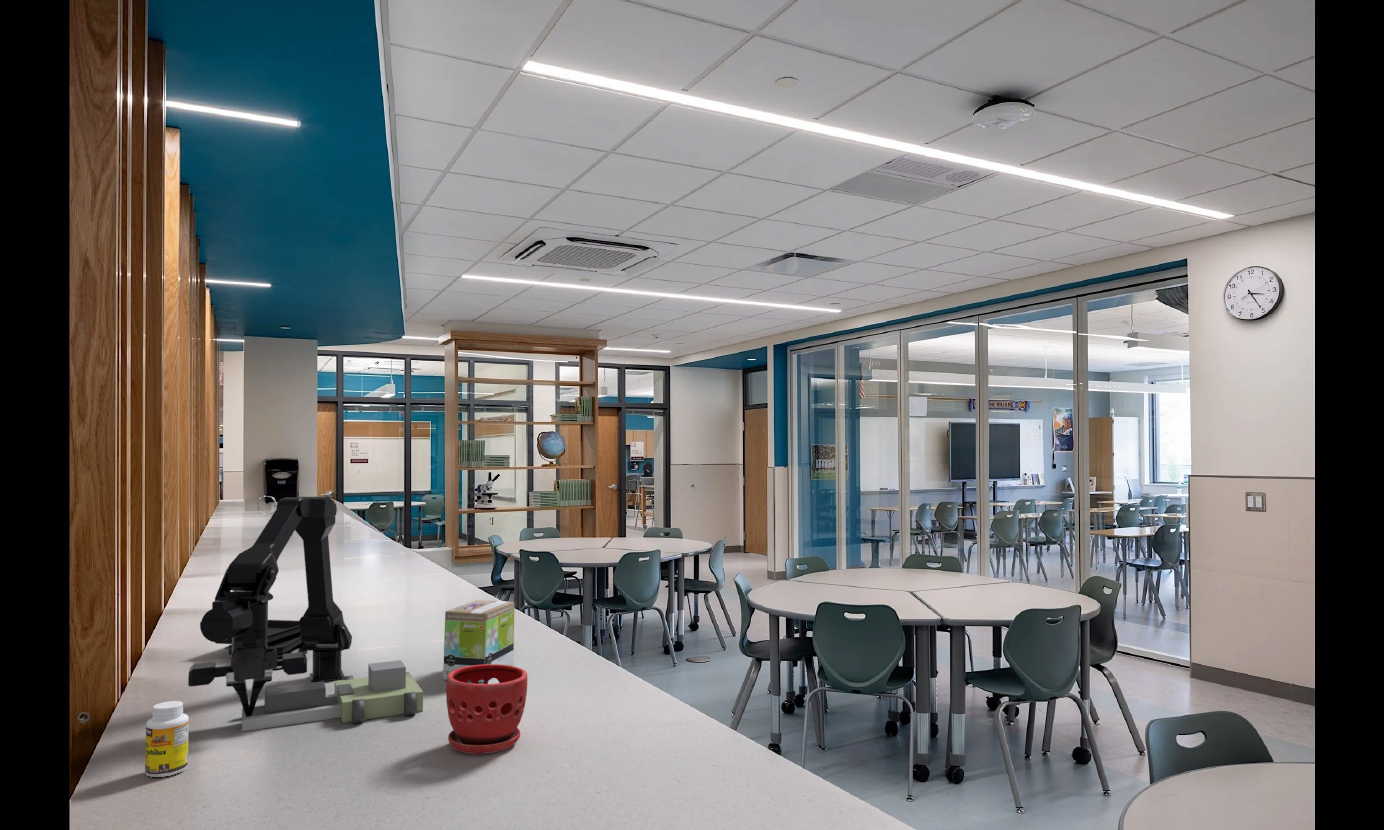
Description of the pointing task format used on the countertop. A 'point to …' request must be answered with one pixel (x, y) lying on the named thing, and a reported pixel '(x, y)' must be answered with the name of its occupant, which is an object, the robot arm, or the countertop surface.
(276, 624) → the tray
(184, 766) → the supplement bottle
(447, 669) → the tea box
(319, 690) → the dark grey stepped block
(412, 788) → the countertop surface
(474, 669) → the plant pot
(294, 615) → the countertop surface
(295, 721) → the toy flatbed truck
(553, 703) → the countertop surface
